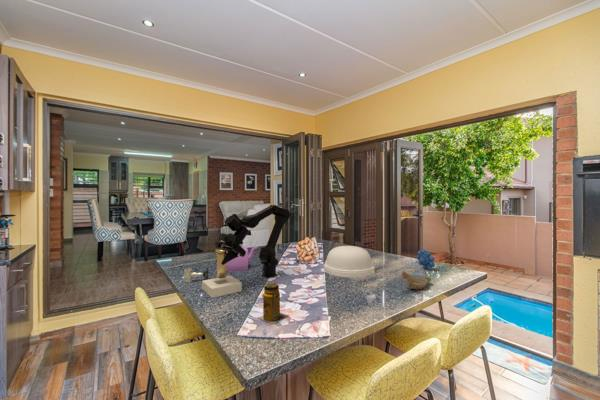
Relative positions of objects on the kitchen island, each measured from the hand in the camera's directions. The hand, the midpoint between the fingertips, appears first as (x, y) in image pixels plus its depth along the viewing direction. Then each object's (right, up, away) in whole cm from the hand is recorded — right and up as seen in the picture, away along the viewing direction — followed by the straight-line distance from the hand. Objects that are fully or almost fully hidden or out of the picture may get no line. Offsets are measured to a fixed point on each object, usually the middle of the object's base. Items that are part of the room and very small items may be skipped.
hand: (219, 263), depth 127 cm
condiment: (+28, -14, -27) cm, 41 cm away
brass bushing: (+1, -7, +1) cm, 7 cm away
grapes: (+113, -12, +37) cm, 120 cm away
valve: (-17, -13, +15) cm, 26 cm away
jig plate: (+1, -13, +1) cm, 13 cm away
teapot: (0, -12, +42) cm, 44 cm away
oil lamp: (+95, -13, +5) cm, 96 cm away
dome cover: (+67, -13, +36) cm, 77 cm away
